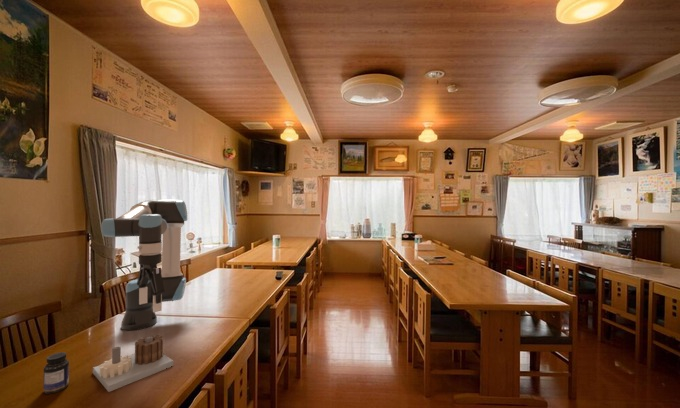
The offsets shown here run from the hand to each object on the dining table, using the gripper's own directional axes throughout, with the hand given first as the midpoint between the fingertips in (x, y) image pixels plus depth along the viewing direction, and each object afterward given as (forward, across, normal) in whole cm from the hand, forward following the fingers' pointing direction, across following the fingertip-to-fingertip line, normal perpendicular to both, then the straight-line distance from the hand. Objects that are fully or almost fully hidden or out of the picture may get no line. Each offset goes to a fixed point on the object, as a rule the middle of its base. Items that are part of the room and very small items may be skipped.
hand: (150, 307), depth 116 cm
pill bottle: (+21, -5, -26) cm, 34 cm away
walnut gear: (+19, +2, -1) cm, 19 cm away
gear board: (+21, +2, -6) cm, 22 cm away
